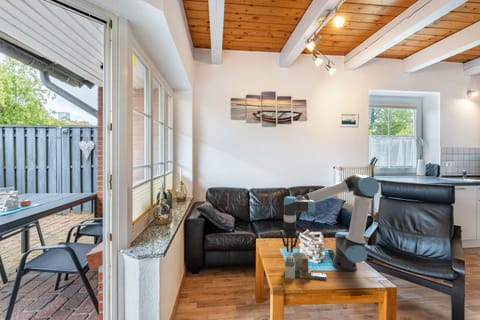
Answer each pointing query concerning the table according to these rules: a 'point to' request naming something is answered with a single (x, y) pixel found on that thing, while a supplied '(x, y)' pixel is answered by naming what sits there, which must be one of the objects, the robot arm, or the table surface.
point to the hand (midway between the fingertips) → (289, 257)
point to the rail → (313, 275)
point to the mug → (298, 260)
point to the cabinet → (289, 268)
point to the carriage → (305, 268)
